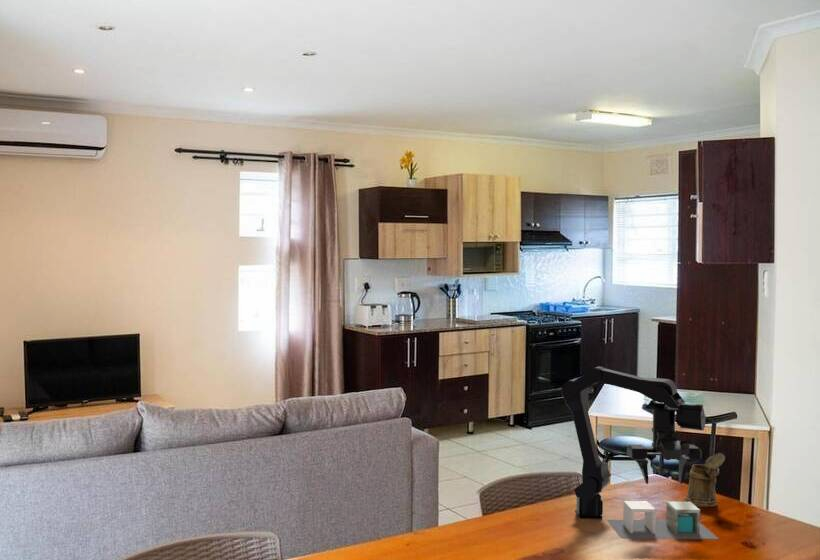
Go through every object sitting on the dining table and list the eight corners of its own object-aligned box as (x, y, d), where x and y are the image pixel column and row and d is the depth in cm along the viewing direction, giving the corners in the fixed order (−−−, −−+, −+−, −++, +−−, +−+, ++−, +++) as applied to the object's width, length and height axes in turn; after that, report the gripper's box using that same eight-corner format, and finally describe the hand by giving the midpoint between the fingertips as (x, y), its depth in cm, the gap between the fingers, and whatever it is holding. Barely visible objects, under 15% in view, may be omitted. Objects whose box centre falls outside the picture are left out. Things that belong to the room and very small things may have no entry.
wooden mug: (703, 513, 221) (705, 452, 220) (679, 499, 234) (681, 441, 234) (731, 512, 222) (733, 451, 222) (705, 498, 236) (707, 440, 235)
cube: (678, 531, 205) (678, 516, 205) (672, 526, 209) (672, 511, 209) (692, 531, 205) (693, 516, 205) (686, 526, 209) (687, 511, 209)
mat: (621, 539, 199) (621, 538, 199) (606, 520, 213) (606, 519, 213) (718, 540, 200) (718, 538, 200) (697, 521, 214) (697, 520, 214)
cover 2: (675, 533, 204) (675, 509, 203) (666, 524, 210) (666, 501, 210) (699, 533, 204) (700, 509, 203) (689, 524, 210) (690, 501, 210)
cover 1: (630, 533, 203) (631, 509, 203) (623, 524, 210) (623, 501, 210) (654, 533, 203) (655, 509, 203) (646, 524, 210) (647, 501, 210)
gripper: (638, 432, 198) (638, 492, 198) (710, 432, 197) (709, 492, 198) (626, 424, 209) (626, 480, 209) (694, 423, 209) (693, 480, 209)
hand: (663, 483), depth 206 cm, fingers open, 9 cm apart
